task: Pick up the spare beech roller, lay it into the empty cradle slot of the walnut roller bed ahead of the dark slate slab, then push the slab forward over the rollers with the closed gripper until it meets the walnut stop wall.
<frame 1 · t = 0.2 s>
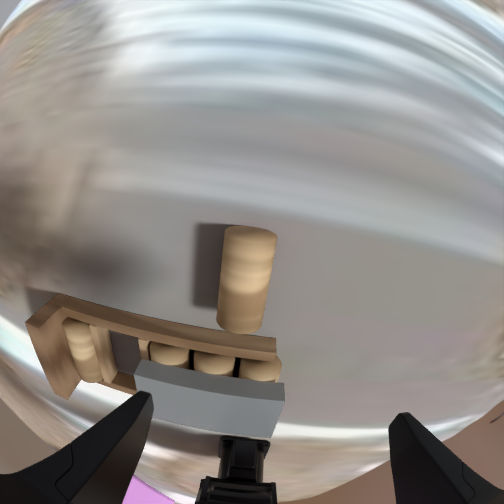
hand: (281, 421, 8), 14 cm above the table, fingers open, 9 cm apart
stop wall: (74, 333, 25), on the table
slab: (209, 395, 22), point 3 cm above the table, touching roller bed
chair: (129, 484, 44), on the table
roller bed: (161, 358, 25), on the table
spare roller: (244, 280, 20), point 2 cm above the table, tilted 5°
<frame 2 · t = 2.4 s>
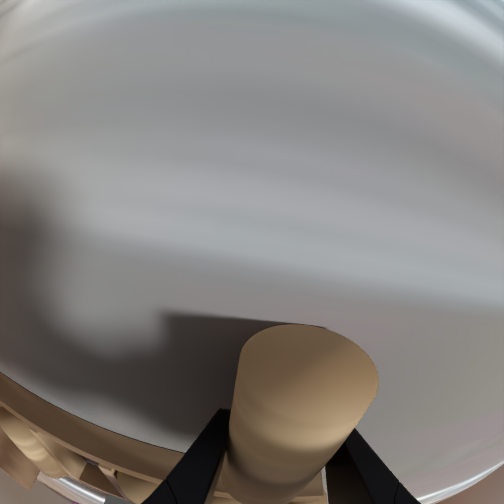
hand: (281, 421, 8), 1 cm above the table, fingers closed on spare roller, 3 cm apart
stop wall: (23, 413, 13), on the table
roller bed: (141, 469, 13), on the table
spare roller: (281, 437, 7), point 2 cm above the table, touching gripper
when the fingers open (4 cm above the table, at t = 5.7 s): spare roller drops 3 cm, point 2 cm above the table.
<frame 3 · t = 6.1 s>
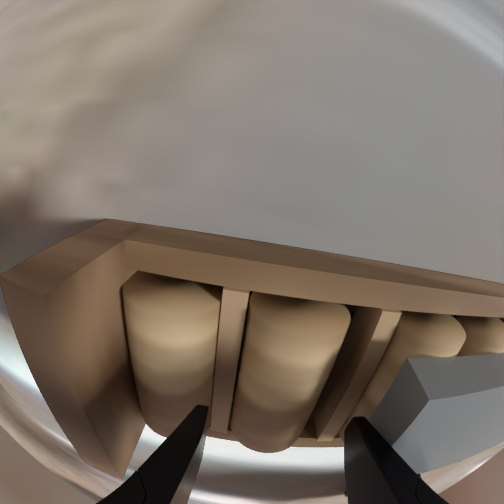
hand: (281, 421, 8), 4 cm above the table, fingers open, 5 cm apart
stop wall: (132, 324, 12), on the table
slab: (471, 401, 8), point 3 cm above the table, touching gripper, roller bed
roller bed: (360, 360, 12), on the table
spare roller: (281, 378, 10), point 2 cm above the table, tilted 19°
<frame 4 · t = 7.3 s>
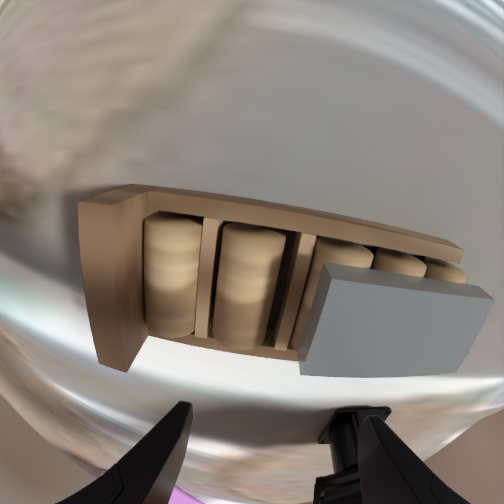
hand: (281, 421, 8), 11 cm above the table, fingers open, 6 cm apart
stop wall: (143, 257, 18), on the table
slab: (400, 320, 15), point 3 cm above the table, touching roller bed
chair: (157, 491, 37), on the table
roller bed: (303, 284, 18), on the table
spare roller: (245, 287, 17), point 2 cm above the table, tilted 13°
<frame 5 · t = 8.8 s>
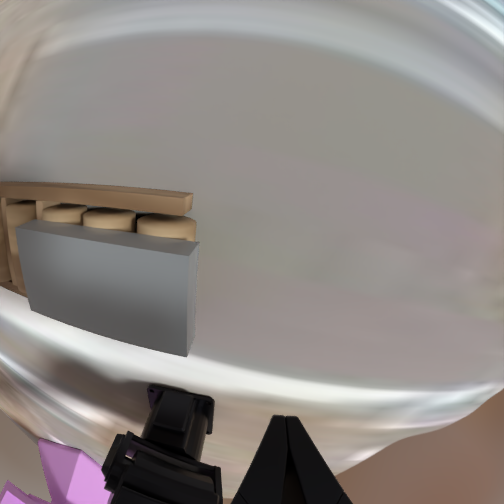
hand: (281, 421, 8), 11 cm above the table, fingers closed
slab: (103, 275, 15), point 3 cm above the table, touching roller bed
chair: (85, 465, 37), on the table
roller bed: (67, 245, 18), on the table
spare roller: (28, 245, 17), point 2 cm above the table, tilted 9°
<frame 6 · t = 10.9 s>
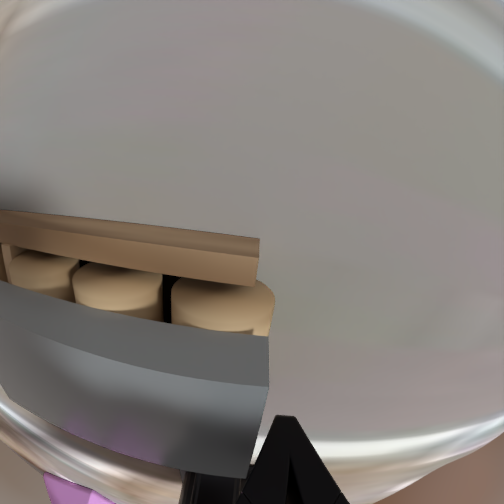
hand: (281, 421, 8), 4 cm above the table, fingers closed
slab: (100, 370, 9), point 4 cm above the table, touching gripper, roller bed
chair: (95, 499, 30), on the table
roller bed: (55, 303, 12), on the table
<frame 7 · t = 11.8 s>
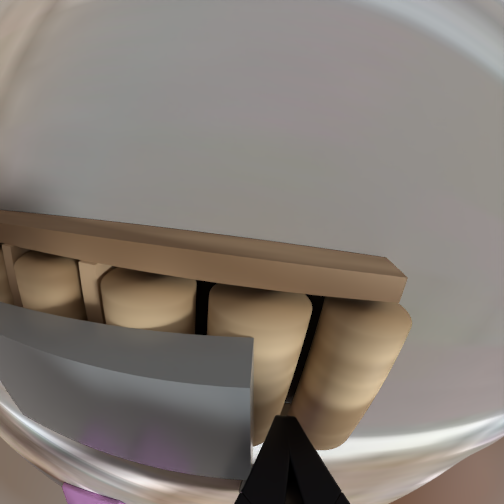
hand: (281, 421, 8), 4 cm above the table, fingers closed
slab: (103, 381, 9), point 3 cm above the table, touching gripper
roller bed: (136, 325, 12), on the table
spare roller: (61, 326, 11), point 2 cm above the table, tilted 11°
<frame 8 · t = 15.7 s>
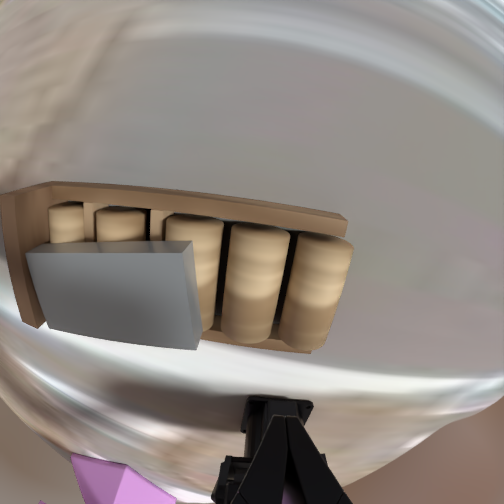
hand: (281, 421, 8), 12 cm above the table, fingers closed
stop wall: (61, 239, 19), on the table
slab: (111, 285, 16), point 3 cm above the table, touching roller bed
chair: (123, 478, 38), on the table
roller bed: (177, 260, 19), on the table
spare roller: (122, 261, 18), point 2 cm above the table, tilted 17°
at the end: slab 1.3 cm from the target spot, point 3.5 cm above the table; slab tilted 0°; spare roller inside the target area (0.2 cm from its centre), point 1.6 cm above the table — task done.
